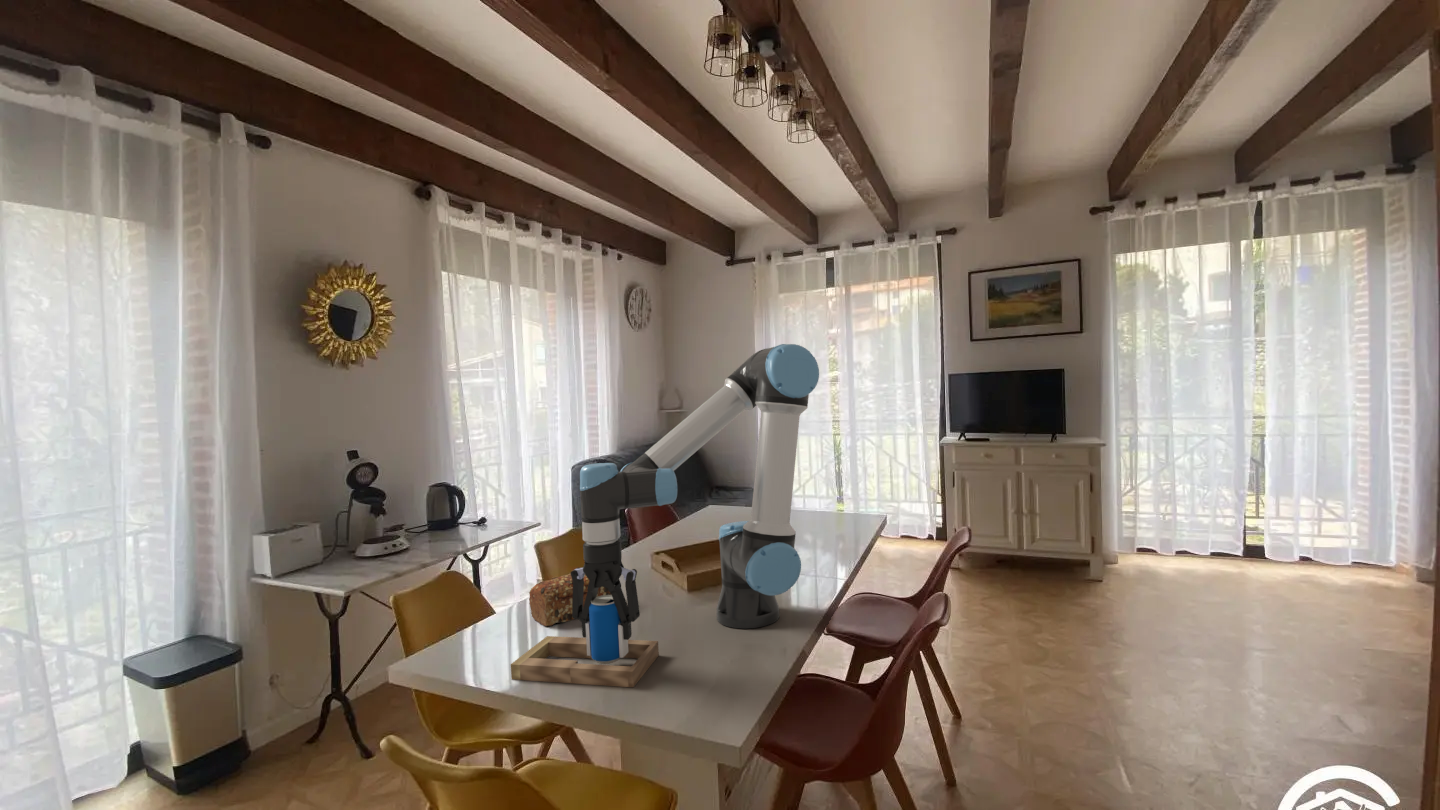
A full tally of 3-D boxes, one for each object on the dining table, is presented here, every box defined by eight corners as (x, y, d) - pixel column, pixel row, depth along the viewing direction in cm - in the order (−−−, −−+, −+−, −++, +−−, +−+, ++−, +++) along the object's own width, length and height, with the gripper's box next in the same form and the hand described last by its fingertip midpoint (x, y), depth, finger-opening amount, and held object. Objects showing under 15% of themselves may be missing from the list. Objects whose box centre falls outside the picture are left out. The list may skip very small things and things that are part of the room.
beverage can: (617, 666, 119) (614, 605, 119) (586, 664, 120) (583, 604, 120) (628, 652, 125) (625, 594, 125) (599, 651, 127) (596, 594, 126)
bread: (545, 629, 146) (543, 588, 146) (529, 618, 155) (526, 579, 154) (614, 609, 158) (611, 571, 158) (595, 599, 166) (592, 563, 166)
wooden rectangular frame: (658, 655, 128) (658, 641, 128) (633, 687, 114) (632, 671, 114) (548, 649, 134) (547, 636, 134) (511, 679, 121) (510, 664, 120)
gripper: (653, 536, 124) (659, 648, 124) (567, 535, 128) (573, 643, 129) (639, 545, 116) (645, 664, 117) (549, 544, 121) (555, 658, 121)
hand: (607, 653), depth 123 cm, fingers closed on beverage can, 6 cm apart
